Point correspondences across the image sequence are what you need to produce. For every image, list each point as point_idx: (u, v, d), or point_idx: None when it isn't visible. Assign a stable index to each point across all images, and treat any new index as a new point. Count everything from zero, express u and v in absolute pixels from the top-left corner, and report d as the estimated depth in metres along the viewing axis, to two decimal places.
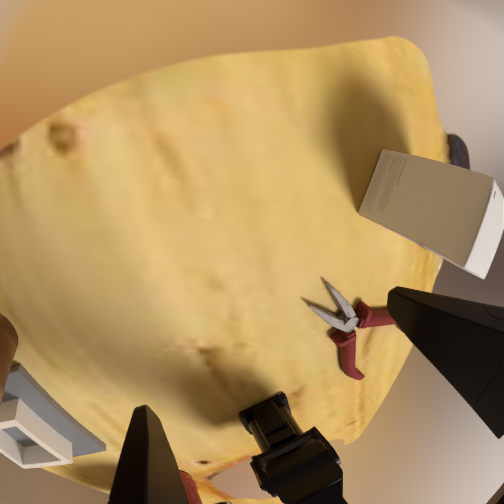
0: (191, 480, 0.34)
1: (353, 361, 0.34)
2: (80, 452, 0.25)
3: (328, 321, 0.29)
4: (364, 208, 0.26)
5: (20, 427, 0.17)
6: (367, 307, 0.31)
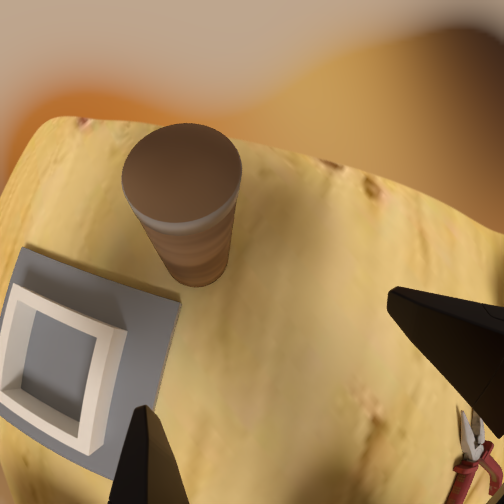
0: None
1: (461, 503, 0.15)
2: (93, 464, 0.15)
3: (468, 437, 0.18)
4: None
5: (101, 344, 0.16)
6: (490, 442, 0.18)
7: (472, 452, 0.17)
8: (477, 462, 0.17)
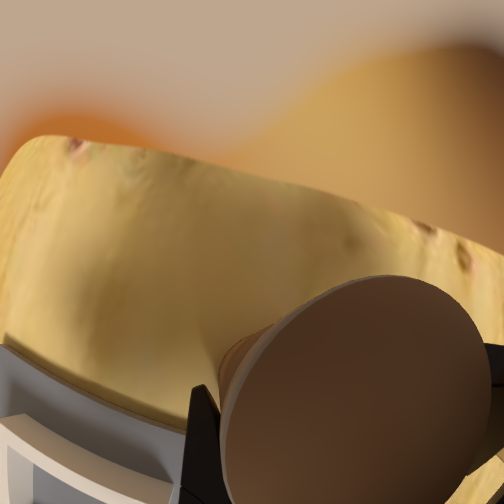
0: None
1: None
2: None
3: None
4: None
5: None
6: None
7: None
8: None
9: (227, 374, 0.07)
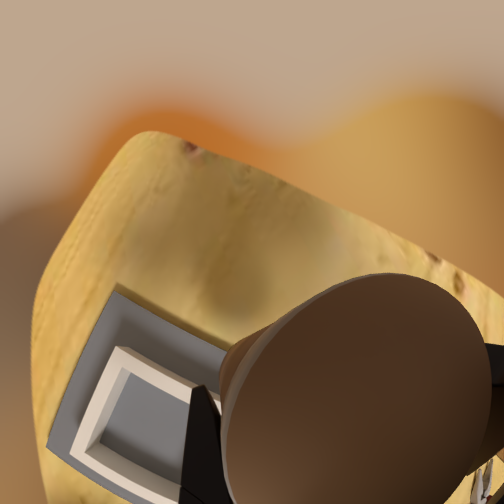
0: None
1: None
2: None
3: (478, 490, 0.16)
4: None
5: None
6: (491, 496, 0.15)
7: (478, 503, 0.15)
8: None
9: (228, 373, 0.07)
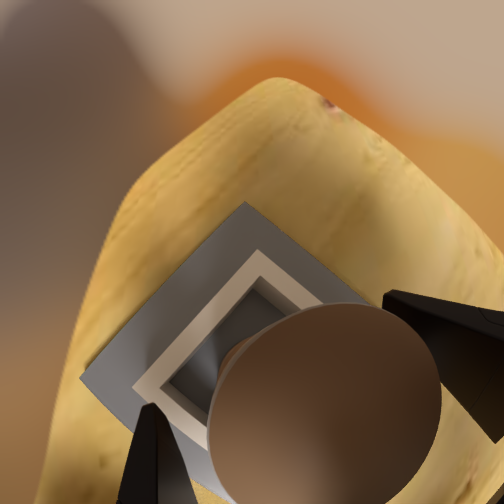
0: None
1: None
2: None
3: None
4: None
5: None
6: None
7: None
8: None
9: (219, 374, 0.08)
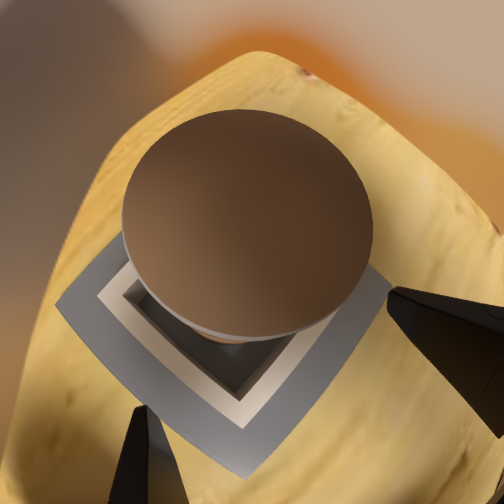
0: None
1: None
2: (202, 437, 0.14)
3: None
4: None
5: None
6: None
7: None
8: None
9: None
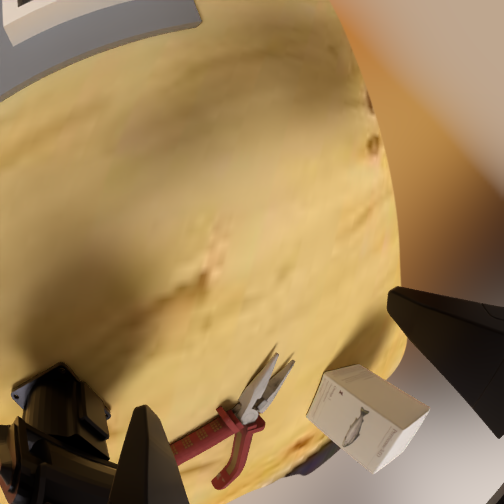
0: None
1: (194, 455, 0.22)
2: None
3: (258, 387, 0.25)
4: (331, 373, 0.31)
5: None
6: None
7: (247, 408, 0.24)
8: (242, 425, 0.24)
9: None
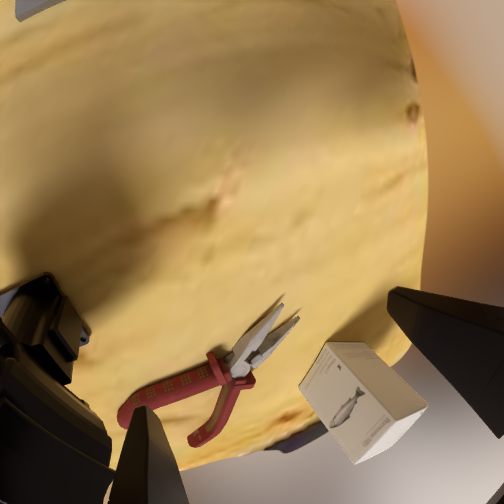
0: None
1: (172, 400, 0.23)
2: None
3: (256, 337, 0.24)
4: (333, 344, 0.30)
5: None
6: None
7: (239, 359, 0.24)
8: (230, 378, 0.24)
9: None
